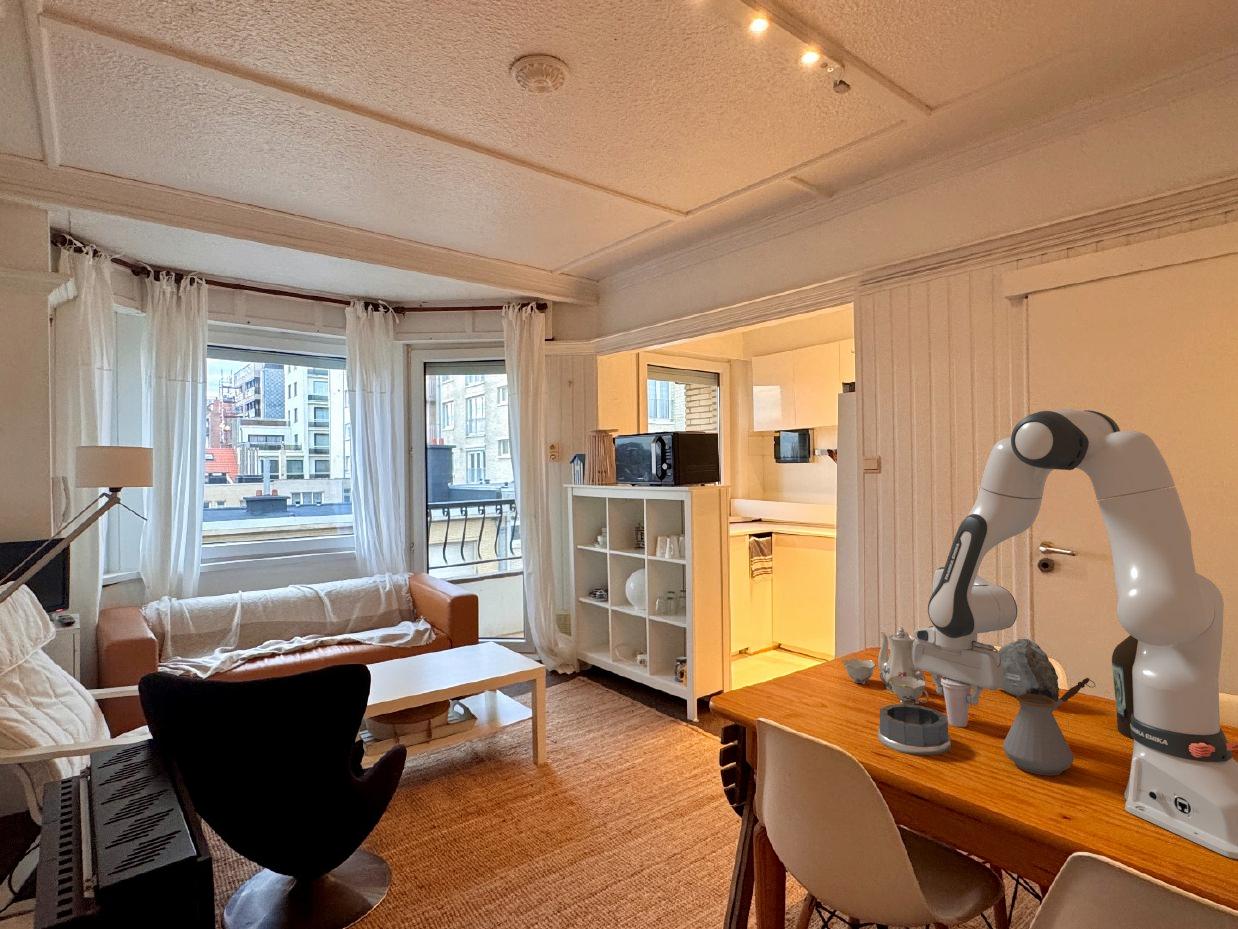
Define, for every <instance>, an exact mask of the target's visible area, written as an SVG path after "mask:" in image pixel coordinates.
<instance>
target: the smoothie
mask: <svg viewBox="0 0 1238 929" xmlns="http://www.w3.org/2000/svg"><path fill="white" fill-rule="evenodd" d="M941 684H942V685H943V691H944V695H943V696H944V702H945V708H946V714H947V715H946V716H947V720H948V725H951V726H953V727H958V728H959V727H960V728H964V727H965V728H966V727H967V726H968V720H969V709H970V703H968V702H967V700H968V699H967V695H970V694H972V689H971V684H968V683H965V682H961V681H958V680H954V679H951V678H947V677H944V676H943V677H941Z"/></svg>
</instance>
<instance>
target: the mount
mask: <svg viewBox="0 0 1238 929" xmlns="http://www.w3.org/2000/svg"><path fill="white" fill-rule="evenodd" d="M877 739H878V740H879V742H880V743H881V744H882V745H884V746H885V747H887V748H889V749H891V750H893V751H896V752H900V753H904V754H908V755H913V754H914V755H915V756H929V757H930V756H937V755H938V756H939V755H943V754H945V753H947V752H950V750H951V748H952V747H951V746H952V745H951V744H952V742H951V741H952V740H951V737H950V735H949V722H948V716H947V715H946V714H944V713H942V712H940V711H939V710H937V709H933V708H930V707H928V706H927V707H925V706H922V705H919V704H913V705H908V704H903V703H899V704H888V705H886V706H883V707H881V708H879V726H878V728H877Z"/></svg>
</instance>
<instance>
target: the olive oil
mask: <svg viewBox="0 0 1238 929" xmlns="http://www.w3.org/2000/svg"><path fill="white" fill-rule="evenodd" d="M1137 645H1138V640H1137V639H1135V638H1134V637H1132V636H1131V635H1130V634H1129V636H1128V637H1126V638H1124V639H1123V640H1122V641H1121V642H1120V643H1118V644H1117V645H1116V646H1115V647H1114V649H1113V651H1112V654H1111V666H1112V667H1111V668H1112V676H1113V678H1112V679H1113V689H1114V696H1115V697H1114V698H1115V699H1114V700H1115V712H1116V724H1117V731H1118V733H1120V734H1121V735H1123V736H1125V737H1126V738H1129V739H1133V740H1134V738H1133V737H1132V736H1131V728H1130V723H1131V715H1132V714H1133V713H1134V707H1133V678H1132V669H1133V665H1134V662H1135V657H1136V652H1137Z"/></svg>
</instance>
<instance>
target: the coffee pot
mask: <svg viewBox="0 0 1238 929" xmlns="http://www.w3.org/2000/svg"><path fill="white" fill-rule="evenodd" d="M1089 682H1092V683H1093V686H1091V685H1089ZM1086 686H1087V687H1089V688H1092V689H1093V688H1096V683H1095V681H1093V680H1092V679H1090V678H1089V677H1085V678H1084V679H1082V681H1078V682H1077V684H1076V685H1074V686H1072V687H1070V688H1069V689H1068V690H1067V691H1066V692H1065V693H1064V694H1063V695H1062V696H1061V697H1060V698H1058V699H1059V700H1058V701H1057V702H1055V701H1054V700H1053V699H1051V698H1048V697H1045V696H1041V695H1035V694H1020V695H1018V696H1016V701H1018V702H1019V706H1020V707H1019V708H1020V709H1019V710H1018V712H1017V714H1016V716H1015V718H1014V720H1013V722H1012V725H1011V727H1010V728H1009V731H1008V733H1007V735H1006V737H1005V739H1004V741H1003V744H1002V749H1003V751H1004V752H1005V754H1006V756H1007V757H1008V759H1009V760H1010V761H1011V762H1013V763H1014V765H1015V766H1016V767H1018V768H1019V769H1021V770H1022V771H1025V772H1029V773H1032V774H1034V775H1042V776H1058V775H1061V774H1062V772H1063V771H1066V770H1068V769H1069V768H1070V767H1071V766H1072V764H1073V762H1074V760H1075V758H1074V755H1073V753H1072V750H1071V748H1070V746H1069V744H1068V742H1067V741H1066V740H1067V739H1066V738H1065V736H1064V733H1063V732H1062V730H1061V728H1060V726H1059V724H1058V722H1057V720H1056V718H1055V716H1054V713H1053V712H1055V710H1056V709H1057V708H1059V707H1060V706H1061V705H1062V704H1063V703H1064V704H1065V703H1066V702H1067V701H1068V700H1070V699H1071V698H1072V697H1074V696H1075V695H1077V694H1078V692H1079V691H1080V690H1081V689H1084V688H1085V687H1086Z"/></svg>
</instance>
